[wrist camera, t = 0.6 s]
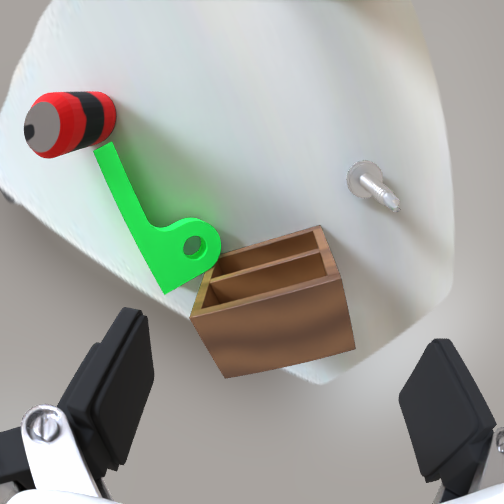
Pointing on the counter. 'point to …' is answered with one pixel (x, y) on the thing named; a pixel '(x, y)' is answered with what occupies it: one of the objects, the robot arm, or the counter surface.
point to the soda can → (68, 122)
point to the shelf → (273, 305)
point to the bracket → (159, 230)
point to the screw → (370, 184)
